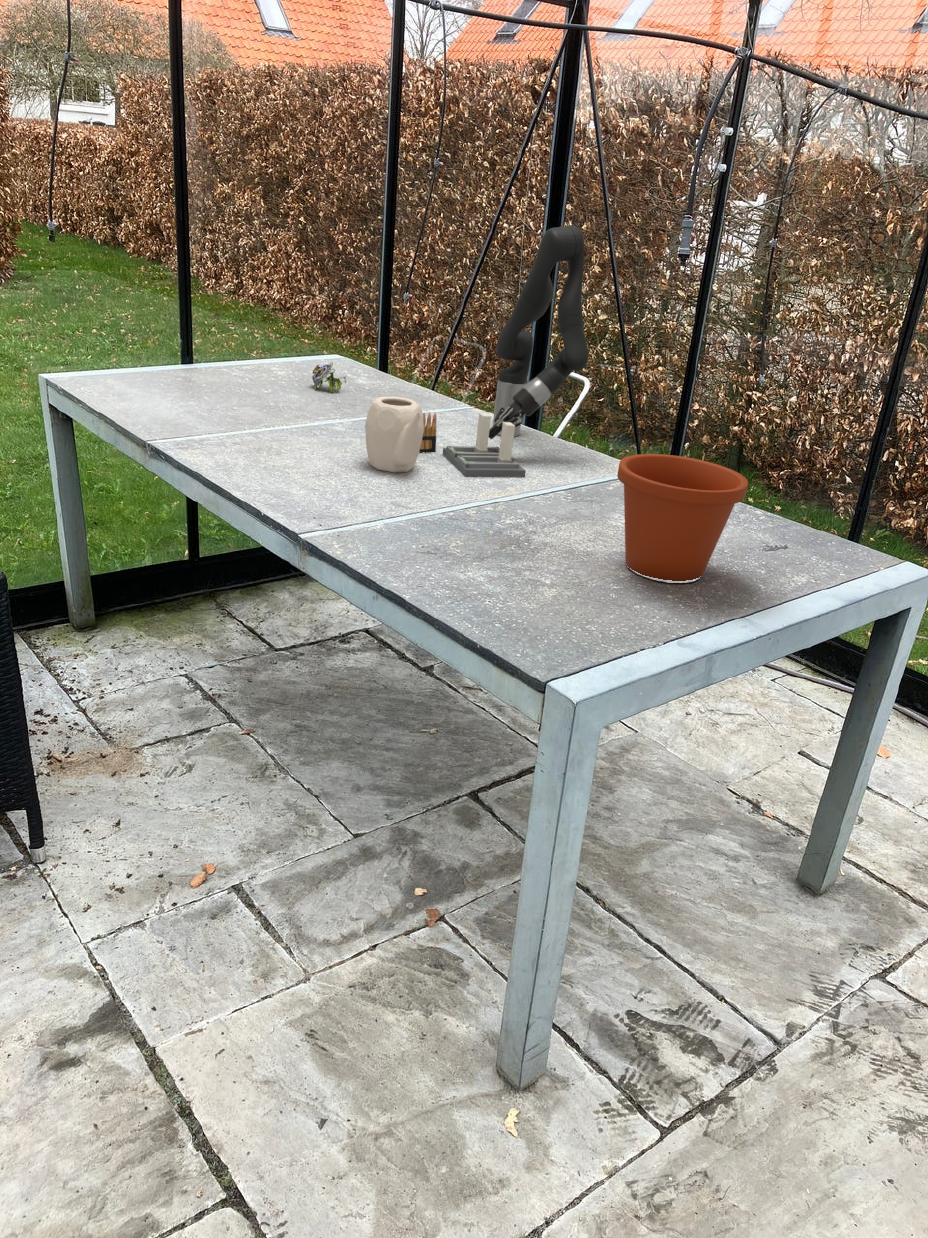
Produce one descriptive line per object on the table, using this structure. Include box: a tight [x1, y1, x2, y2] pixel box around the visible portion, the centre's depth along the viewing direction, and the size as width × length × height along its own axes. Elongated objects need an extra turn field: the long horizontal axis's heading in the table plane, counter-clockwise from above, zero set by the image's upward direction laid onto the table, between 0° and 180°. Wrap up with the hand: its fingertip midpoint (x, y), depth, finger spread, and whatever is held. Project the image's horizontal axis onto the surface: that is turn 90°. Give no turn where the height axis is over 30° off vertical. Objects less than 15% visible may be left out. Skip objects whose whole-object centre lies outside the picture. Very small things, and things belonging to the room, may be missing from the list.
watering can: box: [364, 396, 424, 473], centre depth 268 cm, size 16×27×19 cm, turn 29°
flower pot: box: [616, 453, 749, 581], centre depth 217 cm, size 28×28×23 cm
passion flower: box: [311, 361, 347, 394], centre depth 353 cm, size 11×11×12 cm
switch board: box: [442, 445, 527, 478], centre depth 284 cm, size 22×18×3 cm
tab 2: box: [497, 422, 515, 463], centre depth 278 cm, size 4×3×12 cm
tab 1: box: [473, 412, 492, 453], centre depth 286 cm, size 4×3×12 cm
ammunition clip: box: [419, 412, 437, 454], centre depth 288 cm, size 11×2×12 cm, turn 117°
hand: (488, 436), depth 287 cm, fingers closed
